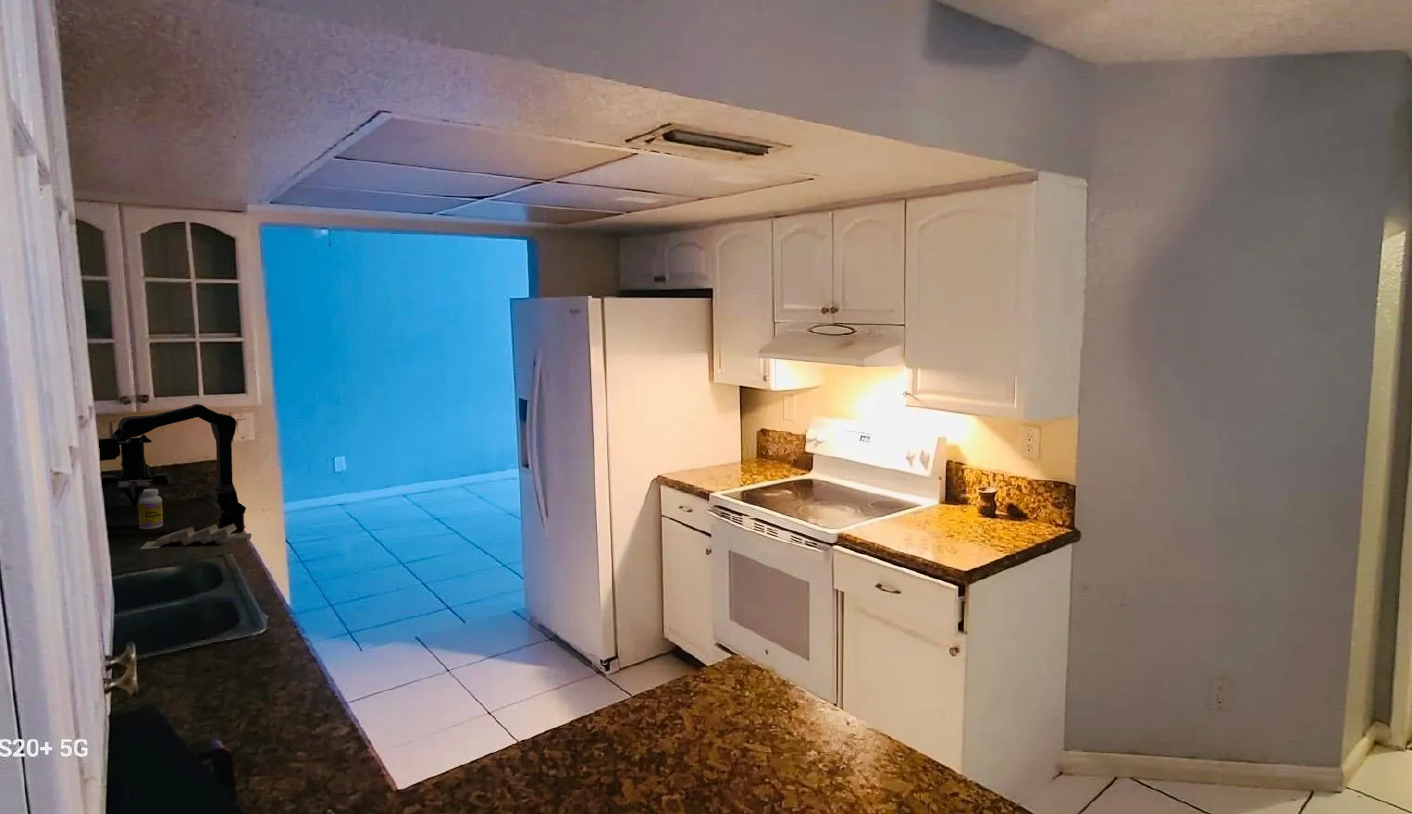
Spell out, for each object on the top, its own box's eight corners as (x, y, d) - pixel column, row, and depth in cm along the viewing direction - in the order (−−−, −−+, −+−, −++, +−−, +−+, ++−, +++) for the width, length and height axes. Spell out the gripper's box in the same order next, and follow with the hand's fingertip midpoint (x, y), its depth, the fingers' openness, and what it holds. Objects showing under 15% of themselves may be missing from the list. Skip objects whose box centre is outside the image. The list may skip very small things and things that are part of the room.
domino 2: (211, 538, 254) (236, 528, 253) (202, 544, 249) (228, 534, 248) (208, 533, 253) (233, 523, 253) (199, 539, 248) (225, 529, 248)
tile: (164, 541, 250) (194, 532, 252) (158, 546, 245) (189, 536, 247) (162, 536, 250) (192, 526, 251) (155, 540, 245) (186, 530, 247)
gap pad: (165, 541, 251) (165, 540, 251) (159, 547, 244) (159, 547, 244) (147, 542, 249) (147, 541, 249) (139, 549, 242) (139, 548, 242)
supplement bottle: (143, 530, 262) (141, 493, 260) (136, 527, 266) (134, 490, 264) (166, 527, 267) (164, 490, 266) (159, 523, 271) (157, 487, 270)
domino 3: (220, 540, 255) (251, 539, 257) (215, 545, 250) (247, 543, 253) (220, 534, 255) (251, 533, 257) (215, 538, 250) (247, 537, 252)
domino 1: (191, 540, 252) (218, 529, 252) (183, 545, 247) (211, 534, 248) (188, 535, 251) (215, 523, 252) (180, 540, 246) (208, 528, 247)
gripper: (175, 452, 253) (177, 499, 255) (105, 454, 246) (107, 503, 248) (166, 458, 243) (168, 507, 244) (92, 460, 236) (95, 511, 237)
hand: (135, 507), depth 244 cm, fingers closed
